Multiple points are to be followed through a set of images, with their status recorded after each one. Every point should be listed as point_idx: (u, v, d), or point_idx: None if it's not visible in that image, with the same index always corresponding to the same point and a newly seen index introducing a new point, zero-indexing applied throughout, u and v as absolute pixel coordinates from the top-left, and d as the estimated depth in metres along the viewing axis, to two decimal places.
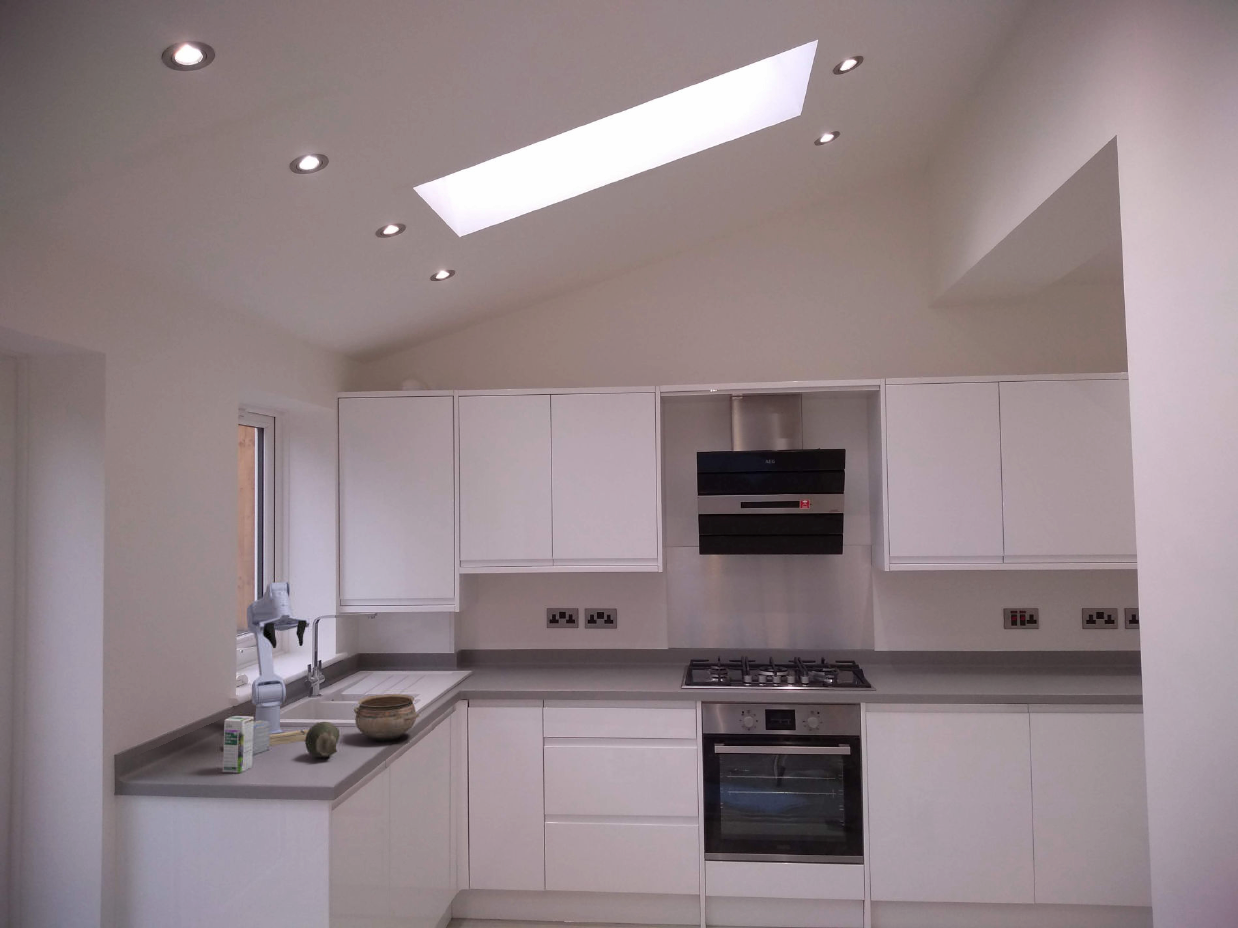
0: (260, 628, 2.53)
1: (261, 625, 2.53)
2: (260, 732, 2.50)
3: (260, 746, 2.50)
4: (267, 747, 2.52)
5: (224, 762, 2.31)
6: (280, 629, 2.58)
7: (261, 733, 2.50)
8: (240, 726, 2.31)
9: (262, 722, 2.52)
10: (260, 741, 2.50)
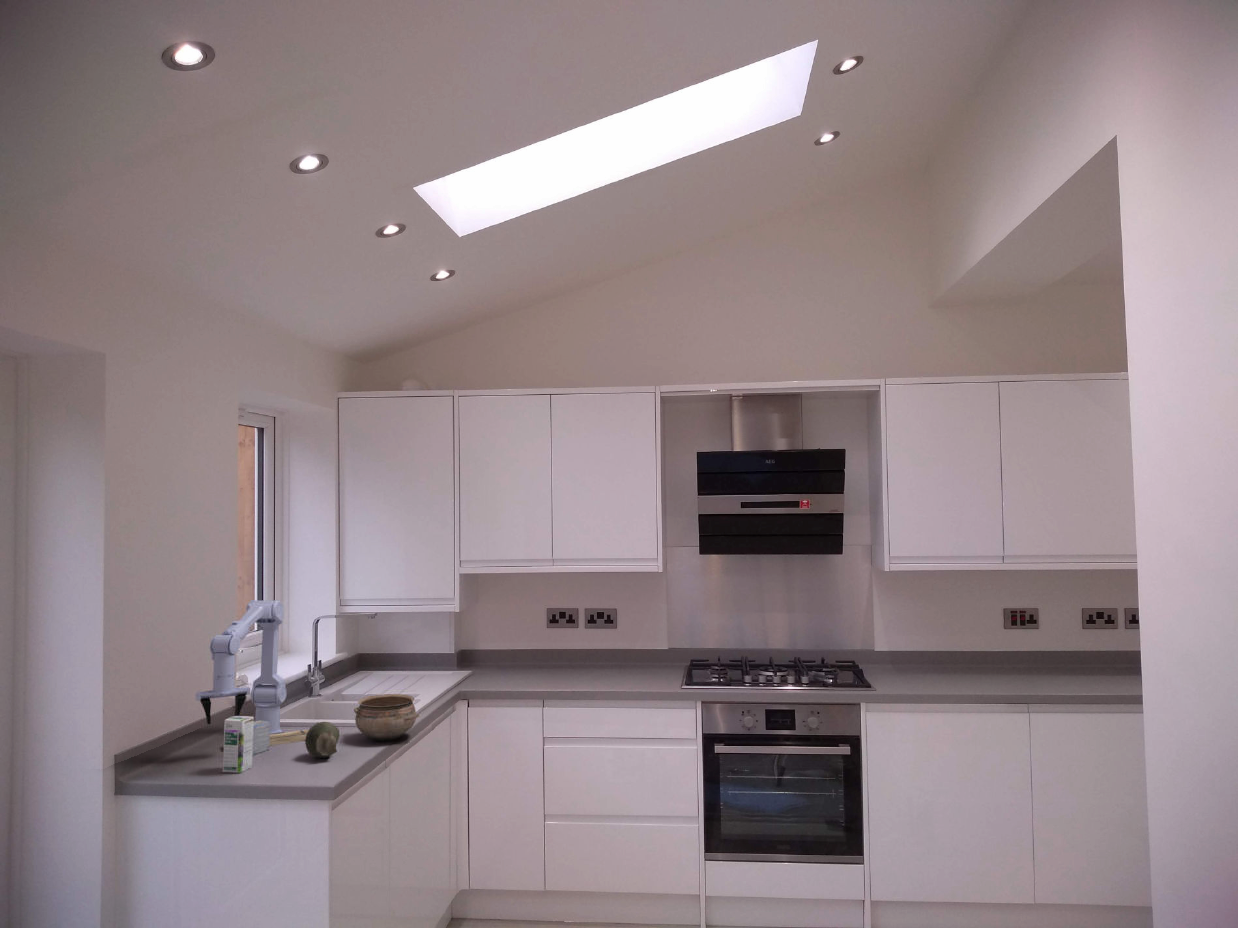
0: (197, 699, 2.42)
1: (198, 698, 2.41)
2: (260, 732, 2.50)
3: (260, 746, 2.50)
4: (267, 747, 2.52)
5: (224, 762, 2.31)
6: None
7: (261, 733, 2.50)
8: (240, 726, 2.31)
9: (262, 722, 2.52)
10: (260, 741, 2.50)
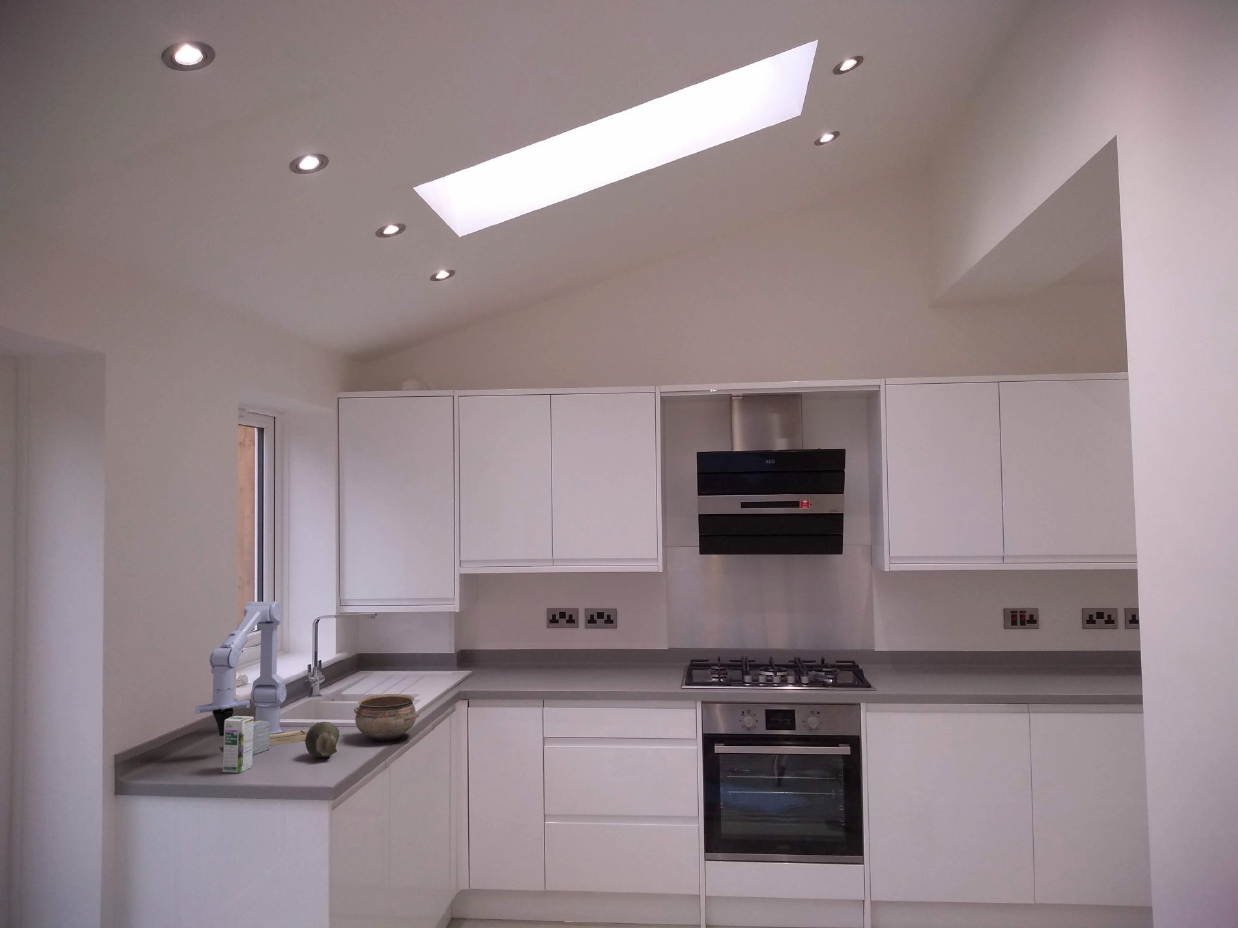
0: (196, 713, 2.42)
1: (197, 712, 2.41)
2: (260, 732, 2.50)
3: (260, 746, 2.50)
4: (267, 747, 2.52)
5: (224, 762, 2.31)
6: None
7: (261, 733, 2.50)
8: (240, 726, 2.31)
9: (262, 722, 2.52)
10: (260, 741, 2.50)
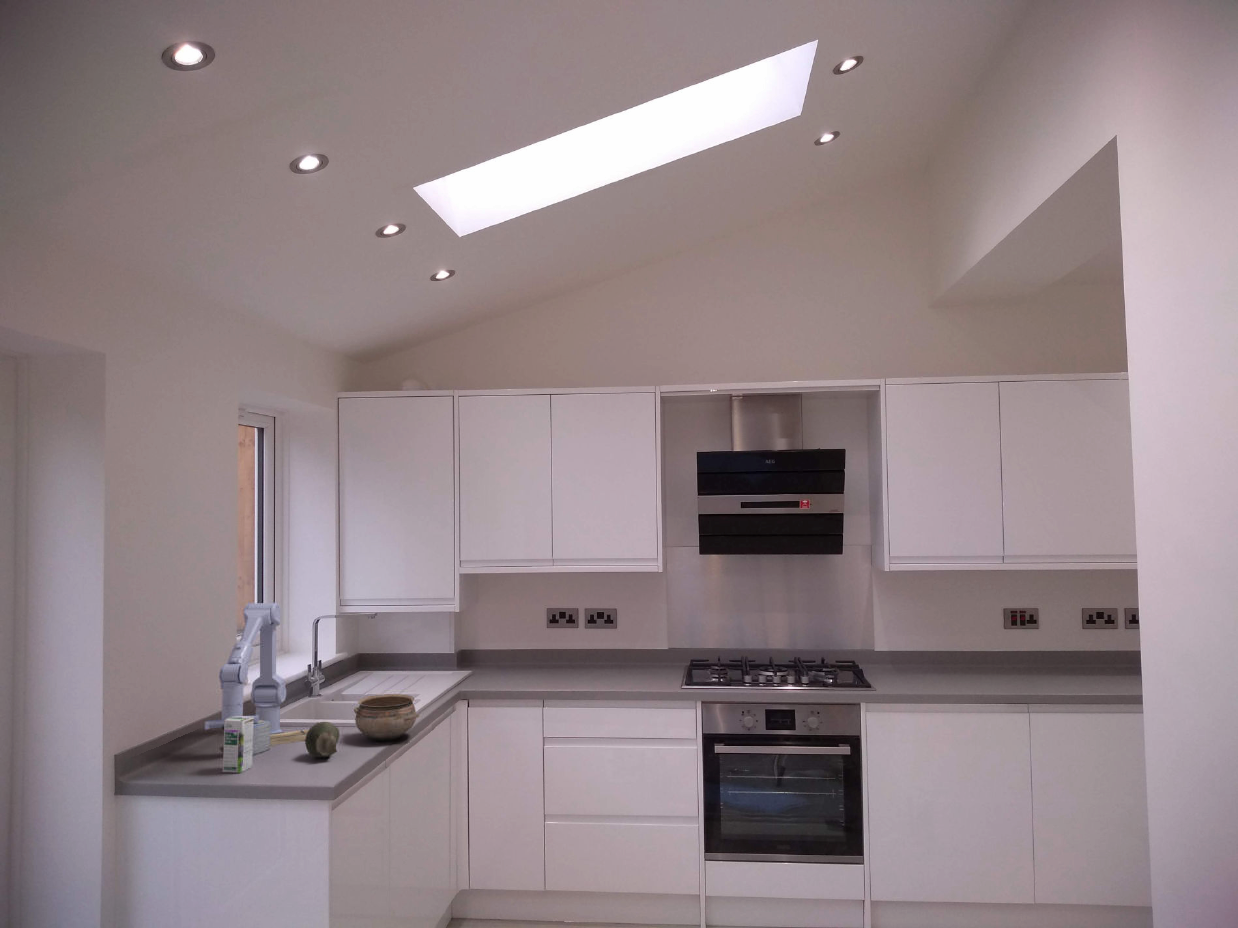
0: (205, 728, 2.43)
1: (207, 727, 2.42)
2: (261, 731, 2.50)
3: (261, 745, 2.50)
4: (268, 747, 2.52)
5: (224, 762, 2.31)
6: None
7: (262, 733, 2.50)
8: (240, 726, 2.31)
9: (263, 722, 2.52)
10: (261, 741, 2.50)
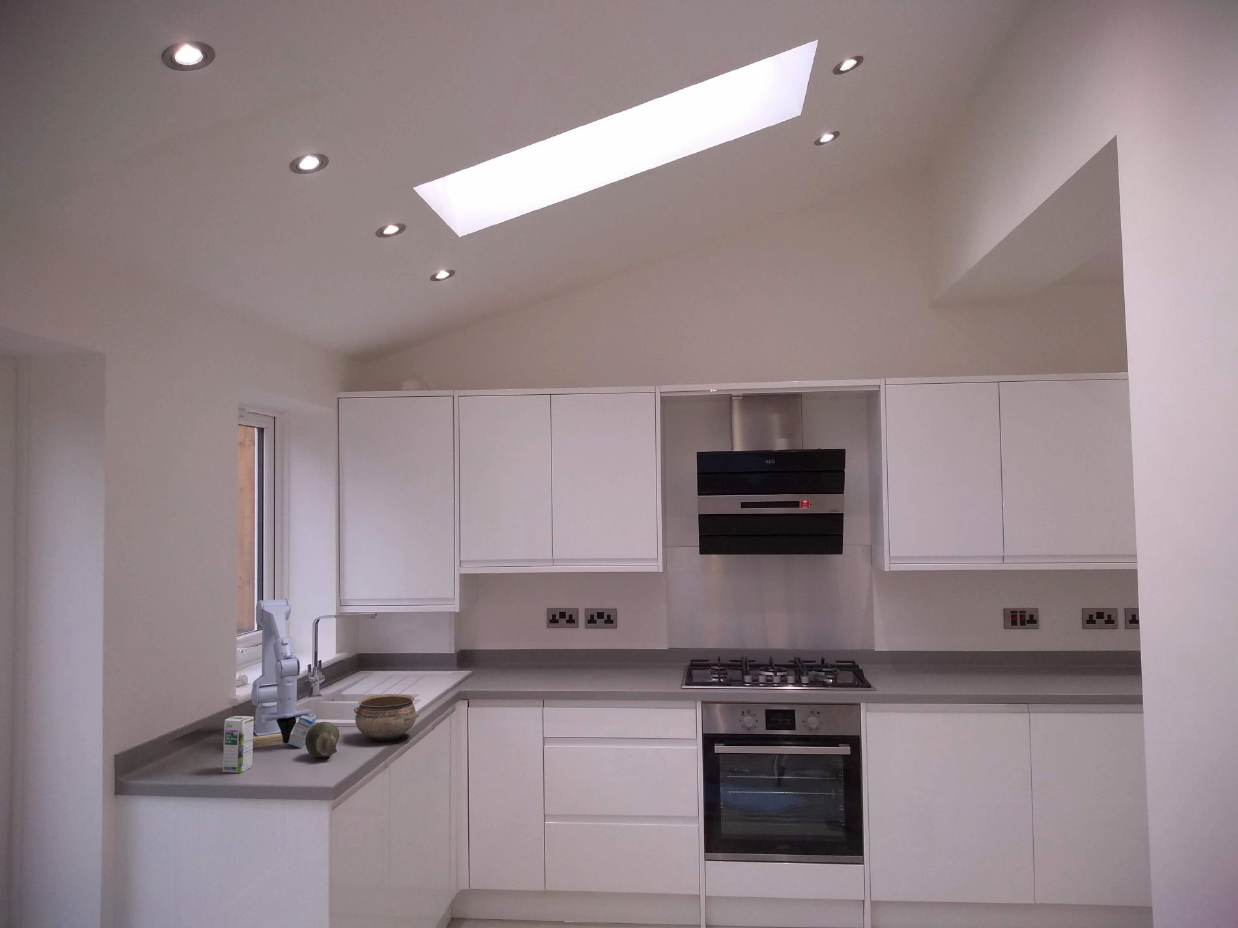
0: (261, 721, 2.51)
1: (263, 720, 2.51)
2: (312, 725, 2.59)
3: None
4: None
5: (224, 762, 2.31)
6: None
7: (311, 726, 2.59)
8: (240, 726, 2.31)
9: (312, 715, 2.61)
10: None
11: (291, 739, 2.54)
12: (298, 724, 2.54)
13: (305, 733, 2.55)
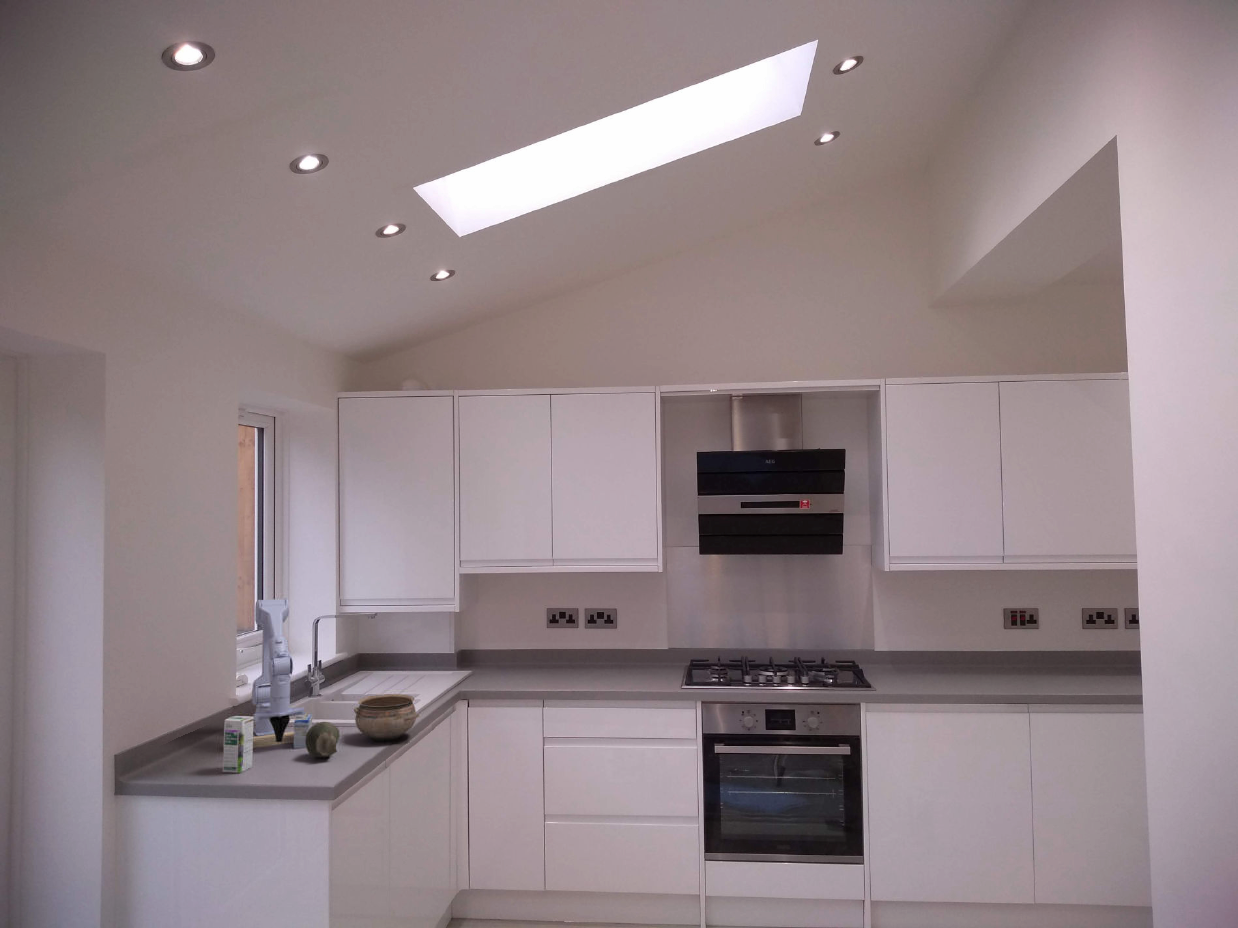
0: None
1: (256, 719, 2.50)
2: (310, 723, 2.59)
3: None
4: None
5: (224, 762, 2.31)
6: None
7: (310, 725, 2.59)
8: (240, 726, 2.31)
9: (307, 715, 2.61)
10: None
11: (295, 743, 2.54)
12: (296, 727, 2.54)
13: (306, 733, 2.55)
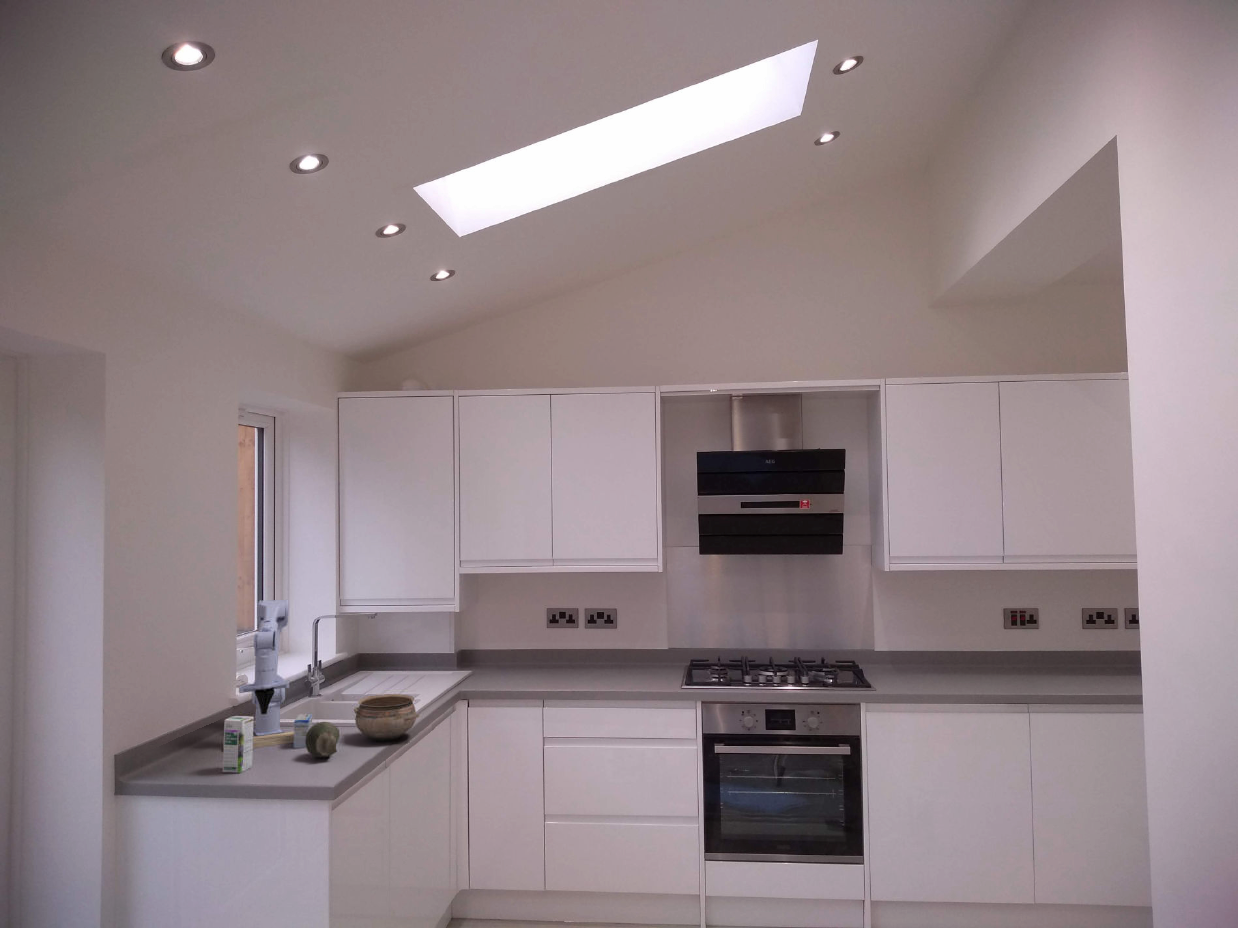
0: (240, 692, 2.56)
1: (241, 691, 2.56)
2: (310, 723, 2.59)
3: None
4: None
5: (224, 762, 2.31)
6: None
7: (310, 725, 2.59)
8: (240, 726, 2.31)
9: (307, 715, 2.61)
10: None
11: (295, 743, 2.54)
12: (296, 727, 2.54)
13: (306, 733, 2.55)
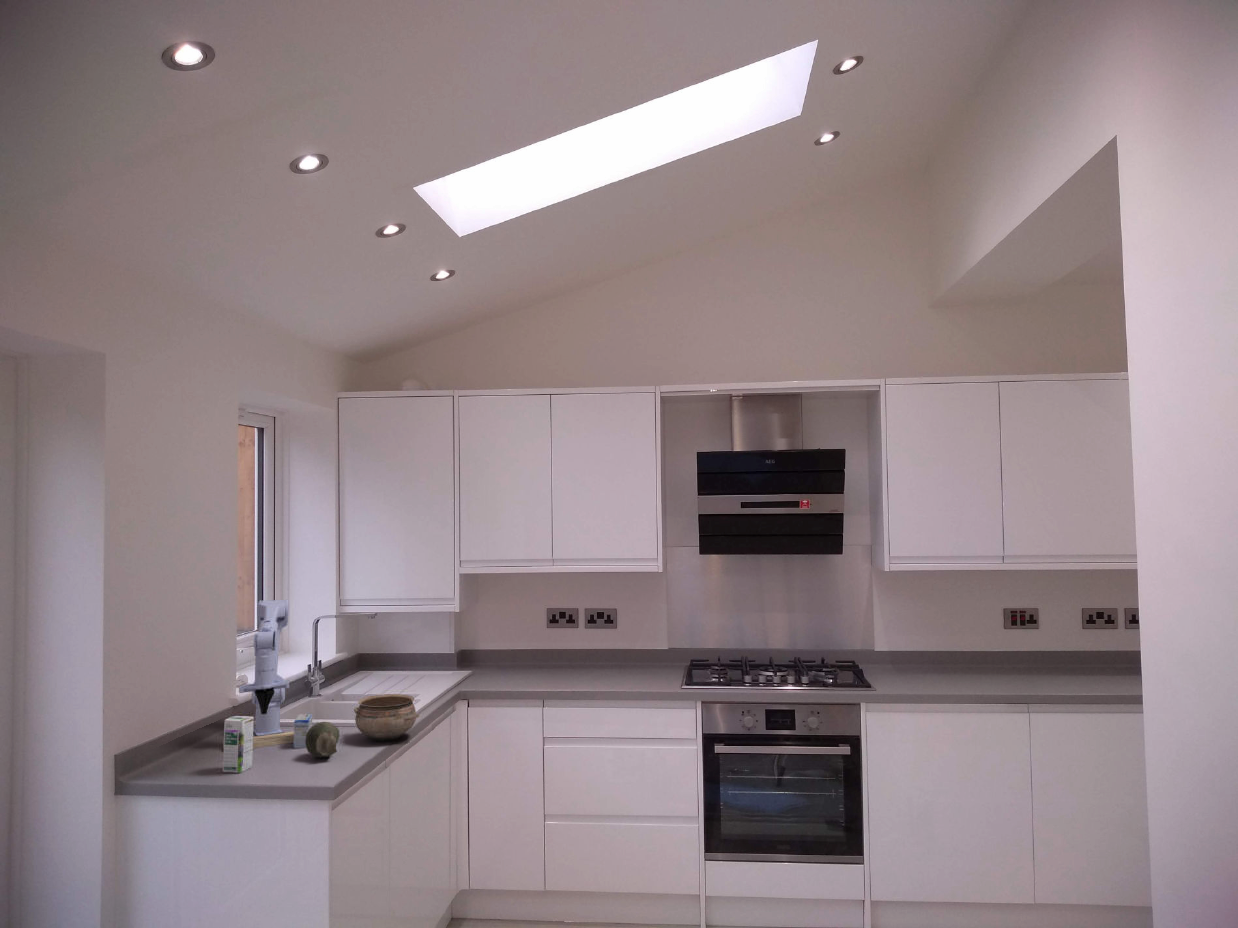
0: (240, 692, 2.56)
1: (241, 691, 2.56)
2: (310, 723, 2.59)
3: None
4: None
5: (224, 762, 2.31)
6: None
7: (310, 725, 2.59)
8: (240, 726, 2.31)
9: (307, 715, 2.61)
10: None
11: (295, 743, 2.54)
12: (296, 727, 2.54)
13: (306, 733, 2.55)
